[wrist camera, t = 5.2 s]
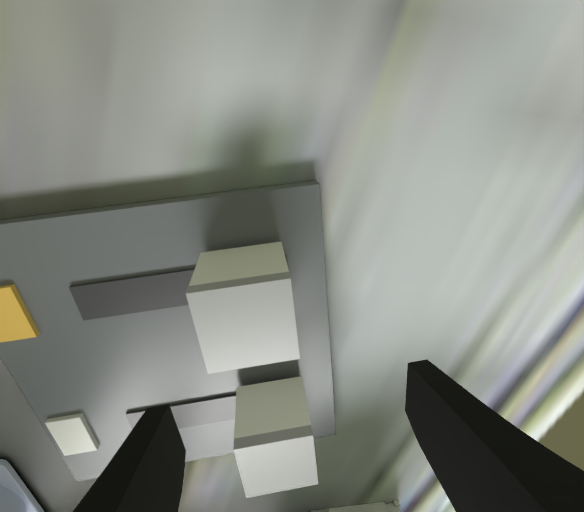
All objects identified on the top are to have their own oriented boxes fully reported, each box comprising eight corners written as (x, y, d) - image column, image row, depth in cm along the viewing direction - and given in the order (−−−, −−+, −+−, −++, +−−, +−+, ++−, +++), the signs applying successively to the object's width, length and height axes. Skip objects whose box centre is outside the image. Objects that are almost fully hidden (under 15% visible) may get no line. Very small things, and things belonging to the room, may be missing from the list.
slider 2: (246, 431, 21) (246, 498, 17) (236, 387, 19) (233, 449, 16) (306, 421, 21) (318, 484, 18) (301, 376, 20) (313, 435, 16)
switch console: (83, 466, 22) (74, 486, 21) (-56, 227, 15) (-82, 236, 14) (332, 422, 24) (336, 438, 23) (315, 180, 16) (321, 185, 15)
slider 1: (216, 319, 17) (207, 373, 14) (200, 252, 16) (185, 293, 12) (289, 308, 18) (300, 358, 14) (281, 241, 16) (290, 278, 12)
